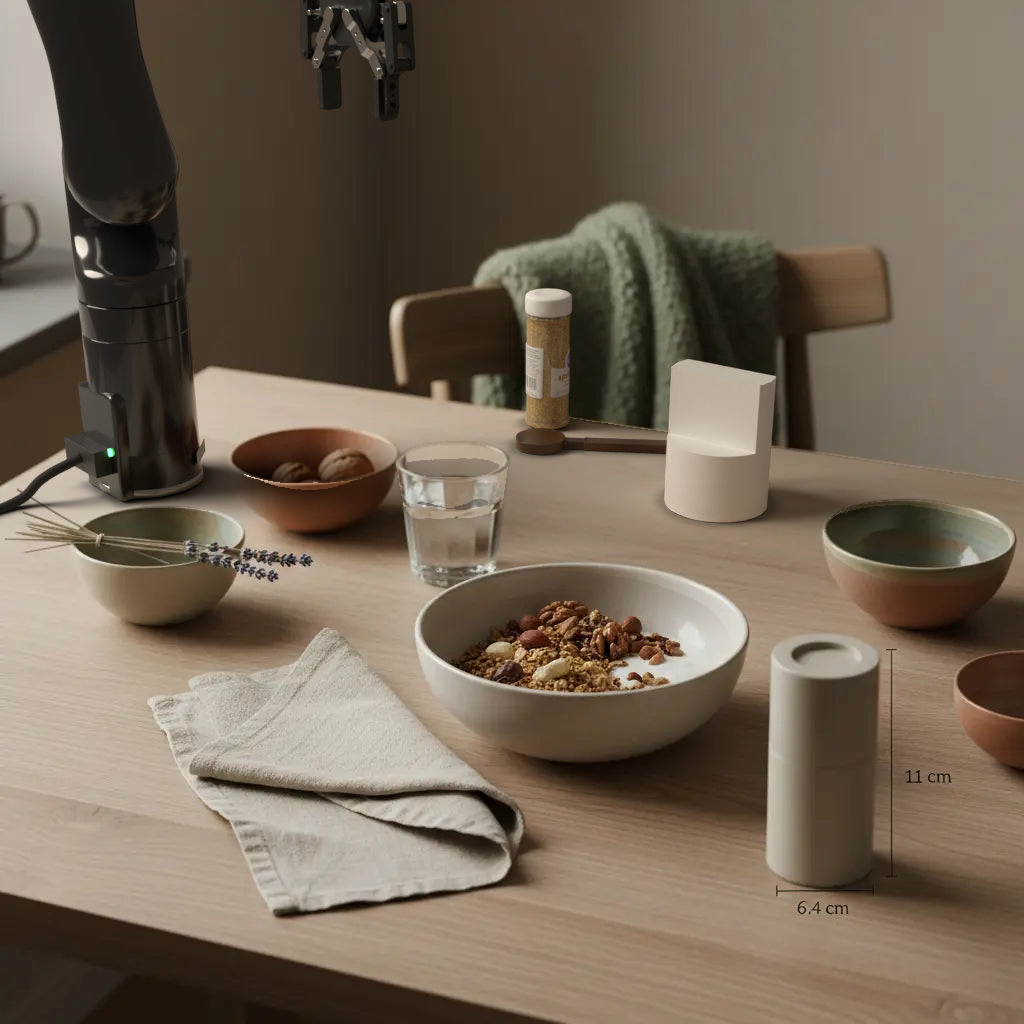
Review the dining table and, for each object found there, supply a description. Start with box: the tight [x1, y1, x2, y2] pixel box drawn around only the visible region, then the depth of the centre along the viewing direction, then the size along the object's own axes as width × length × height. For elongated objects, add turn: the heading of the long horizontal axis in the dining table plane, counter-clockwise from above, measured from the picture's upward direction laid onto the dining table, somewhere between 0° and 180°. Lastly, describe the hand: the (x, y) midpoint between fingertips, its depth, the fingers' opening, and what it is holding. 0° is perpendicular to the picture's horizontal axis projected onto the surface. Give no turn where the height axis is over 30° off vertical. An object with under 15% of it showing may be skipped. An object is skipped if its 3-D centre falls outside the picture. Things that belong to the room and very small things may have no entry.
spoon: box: [515, 427, 667, 456], centre depth 145 cm, size 18×5×1 cm, turn 85°
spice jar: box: [524, 288, 573, 430], centre depth 149 cm, size 5×5×13 cm
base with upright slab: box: [663, 358, 777, 524], centre depth 131 cm, size 9×9×12 cm
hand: (358, 114), depth 141 cm, fingers open, 8 cm apart
